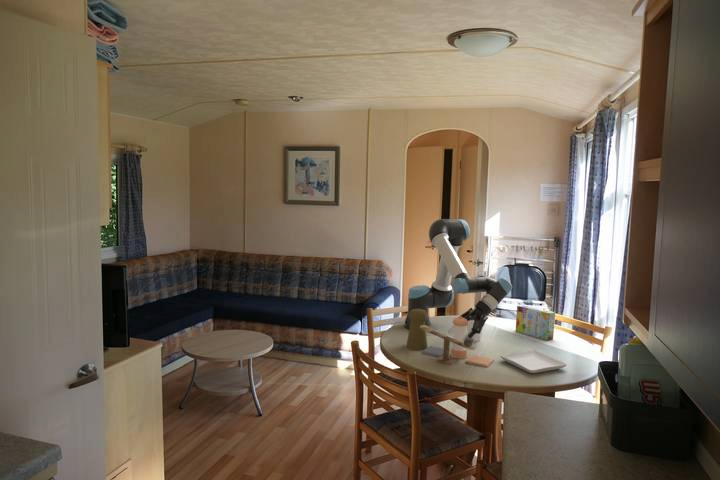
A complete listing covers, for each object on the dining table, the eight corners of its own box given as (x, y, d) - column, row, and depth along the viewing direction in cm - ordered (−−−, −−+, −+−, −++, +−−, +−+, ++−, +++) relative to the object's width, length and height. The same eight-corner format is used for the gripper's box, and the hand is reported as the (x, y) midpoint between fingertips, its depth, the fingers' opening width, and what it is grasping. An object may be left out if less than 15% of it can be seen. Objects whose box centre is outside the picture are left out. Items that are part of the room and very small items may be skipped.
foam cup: (481, 337, 265) (483, 314, 263) (484, 342, 255) (485, 318, 254) (464, 336, 266) (465, 313, 264) (466, 341, 256) (467, 317, 255)
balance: (416, 357, 230) (417, 326, 229) (422, 354, 235) (423, 324, 234) (471, 369, 216) (473, 337, 214) (476, 365, 221) (478, 334, 219)
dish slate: (421, 353, 236) (421, 351, 236) (430, 347, 245) (430, 346, 245) (441, 357, 231) (441, 355, 231) (449, 351, 239) (449, 349, 239)
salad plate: (530, 377, 210) (531, 369, 209) (498, 361, 229) (498, 354, 229) (568, 371, 218) (568, 363, 218) (533, 356, 237) (533, 349, 237)
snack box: (553, 339, 265) (555, 312, 264) (547, 341, 262) (549, 313, 260) (521, 329, 282) (522, 304, 281) (514, 331, 279) (516, 305, 278)
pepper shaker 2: (455, 359, 229) (457, 318, 227) (448, 354, 236) (450, 314, 234) (469, 358, 231) (471, 318, 229) (462, 353, 238) (464, 314, 236)
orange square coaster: (465, 362, 225) (465, 360, 224) (473, 356, 233) (473, 354, 233) (487, 367, 219) (487, 365, 219) (494, 361, 228) (494, 359, 228)
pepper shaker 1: (412, 342, 253) (414, 306, 251) (431, 346, 247) (432, 309, 245) (402, 347, 244) (403, 309, 242) (421, 352, 238) (422, 313, 236)
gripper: (468, 294, 246) (440, 325, 243) (495, 305, 222) (464, 340, 219) (477, 304, 248) (449, 335, 245) (505, 316, 224) (474, 351, 221)
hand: (456, 337), depth 232 cm, fingers open, 13 cm apart
